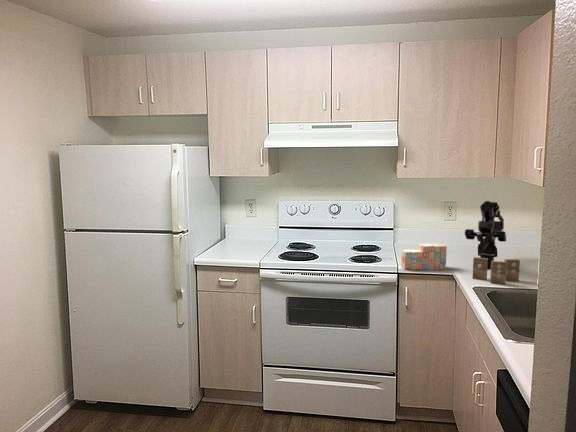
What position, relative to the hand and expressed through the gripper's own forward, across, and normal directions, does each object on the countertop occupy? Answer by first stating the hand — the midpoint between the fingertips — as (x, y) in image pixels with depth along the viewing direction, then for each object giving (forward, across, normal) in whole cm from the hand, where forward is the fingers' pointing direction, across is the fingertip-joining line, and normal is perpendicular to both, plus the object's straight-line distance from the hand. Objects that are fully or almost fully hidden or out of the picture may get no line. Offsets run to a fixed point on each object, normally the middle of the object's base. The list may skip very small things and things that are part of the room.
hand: (482, 249), depth 234 cm
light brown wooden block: (+18, +9, -2) cm, 20 cm away
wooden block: (+16, +1, +1) cm, 16 cm away
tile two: (+13, +14, +5) cm, 19 cm away
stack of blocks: (+11, -28, +5) cm, 31 cm away
